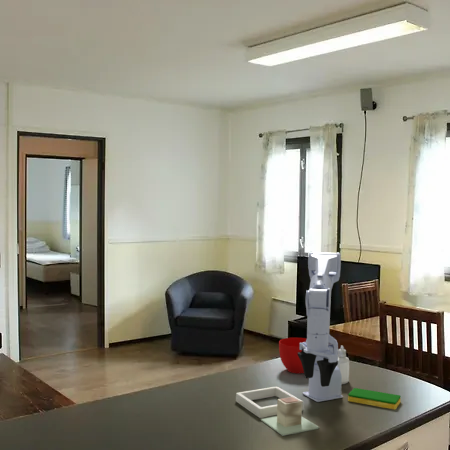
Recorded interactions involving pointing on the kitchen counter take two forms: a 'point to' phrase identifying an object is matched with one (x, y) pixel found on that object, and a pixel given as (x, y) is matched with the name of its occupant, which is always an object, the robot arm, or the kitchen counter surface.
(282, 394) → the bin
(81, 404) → the kitchen counter surface
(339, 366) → the eye dropper bottle
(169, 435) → the kitchen counter surface
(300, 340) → the ceramic cup
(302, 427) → the pad
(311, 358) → the robot arm
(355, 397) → the dish sponge
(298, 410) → the birch block
